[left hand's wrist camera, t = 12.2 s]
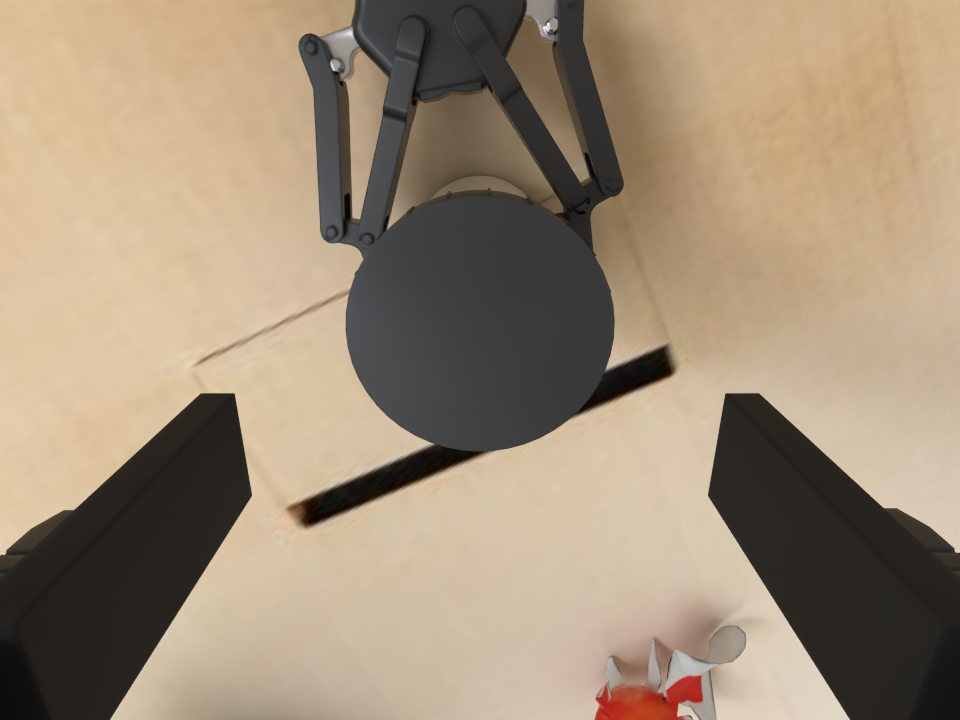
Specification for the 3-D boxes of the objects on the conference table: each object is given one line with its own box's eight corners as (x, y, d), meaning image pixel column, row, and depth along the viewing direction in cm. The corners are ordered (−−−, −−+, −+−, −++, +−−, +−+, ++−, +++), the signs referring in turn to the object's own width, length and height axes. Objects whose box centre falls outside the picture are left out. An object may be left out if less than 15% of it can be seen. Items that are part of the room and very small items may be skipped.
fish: (547, 667, 46) (634, 795, 39) (692, 558, 50) (794, 655, 43) (562, 715, 53) (638, 831, 45) (688, 615, 57) (776, 707, 50)
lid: (475, 466, 25) (474, 497, 23) (304, 311, 23) (286, 329, 21) (653, 321, 23) (671, 340, 21) (485, 128, 20) (485, 127, 18)
